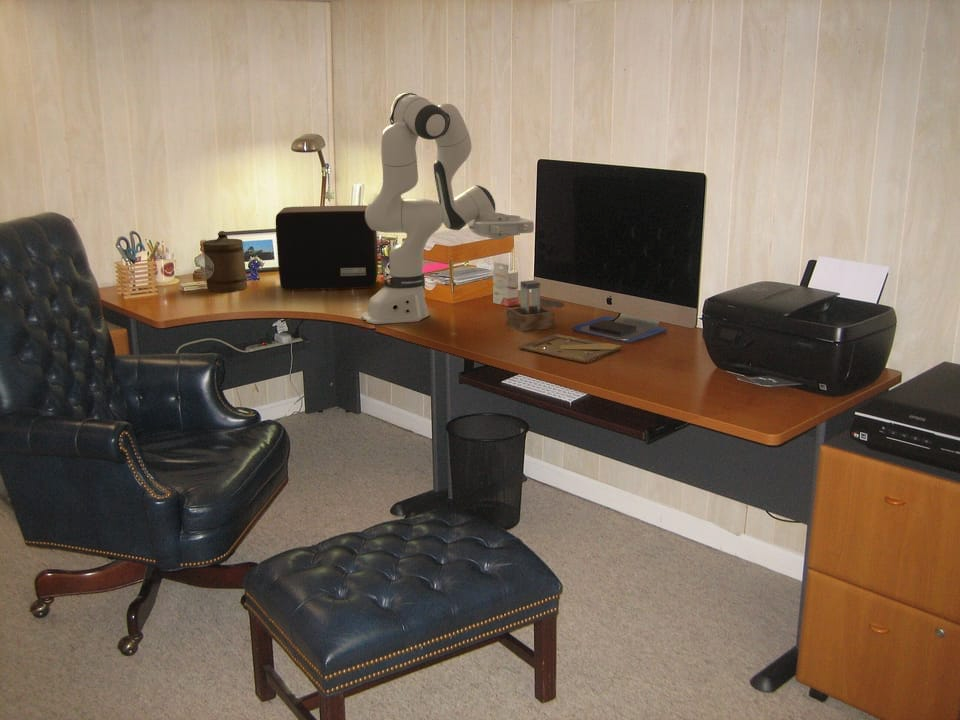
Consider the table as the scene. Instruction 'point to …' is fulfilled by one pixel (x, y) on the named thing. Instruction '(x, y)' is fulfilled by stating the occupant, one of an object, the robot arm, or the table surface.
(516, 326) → the box
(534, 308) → the grey lantern
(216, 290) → the wooden container
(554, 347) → the picture frame
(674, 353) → the table surface
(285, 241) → the radio
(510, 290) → the ink cartridge box
